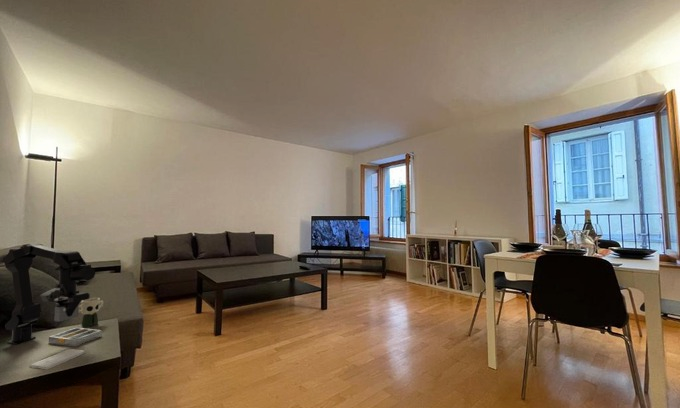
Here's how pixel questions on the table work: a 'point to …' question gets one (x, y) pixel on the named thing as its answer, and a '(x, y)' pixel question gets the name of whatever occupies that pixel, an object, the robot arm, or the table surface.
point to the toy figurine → (90, 311)
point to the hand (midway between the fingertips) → (67, 316)
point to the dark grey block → (64, 313)
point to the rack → (74, 336)
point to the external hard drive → (57, 359)
